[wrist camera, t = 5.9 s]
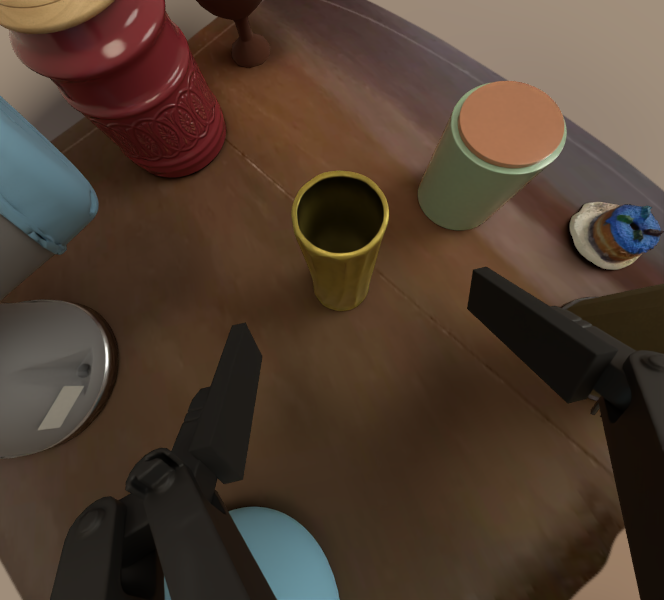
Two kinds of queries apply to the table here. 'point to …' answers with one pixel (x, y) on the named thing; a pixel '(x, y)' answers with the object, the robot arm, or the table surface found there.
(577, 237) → the dessert
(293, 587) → the sugar bowl
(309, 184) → the vase
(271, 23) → the table surface
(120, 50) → the kitchen canister
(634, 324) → the canister
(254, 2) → the ice cream bowl
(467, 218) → the mug
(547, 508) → the table surface
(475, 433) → the table surface
